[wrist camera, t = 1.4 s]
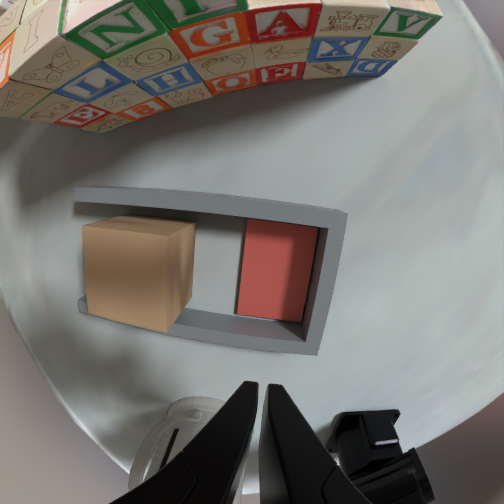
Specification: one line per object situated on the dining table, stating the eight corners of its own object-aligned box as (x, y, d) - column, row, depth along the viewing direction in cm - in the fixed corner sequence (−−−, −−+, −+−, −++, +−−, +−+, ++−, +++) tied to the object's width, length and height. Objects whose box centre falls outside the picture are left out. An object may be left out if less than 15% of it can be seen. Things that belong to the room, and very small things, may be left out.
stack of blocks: (358, 12, 14) (410, -87, 2) (383, 77, 15) (480, -6, 3) (96, 71, 16) (-10, 22, 4) (101, 136, 18) (-30, 116, 6)
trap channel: (312, 337, 20) (317, 355, 18) (95, 299, 21) (79, 311, 18) (337, 209, 18) (347, 213, 15) (93, 185, 18) (74, 187, 16)
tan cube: (192, 296, 20) (166, 332, 15) (126, 284, 20) (88, 312, 15) (196, 221, 19) (167, 235, 13) (126, 214, 19) (82, 225, 14)
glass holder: (178, 445, 25) (140, 551, 10) (143, 344, 21) (47, 479, 7) (256, 451, 24) (244, 571, 9) (246, 349, 21) (213, 536, 6)
